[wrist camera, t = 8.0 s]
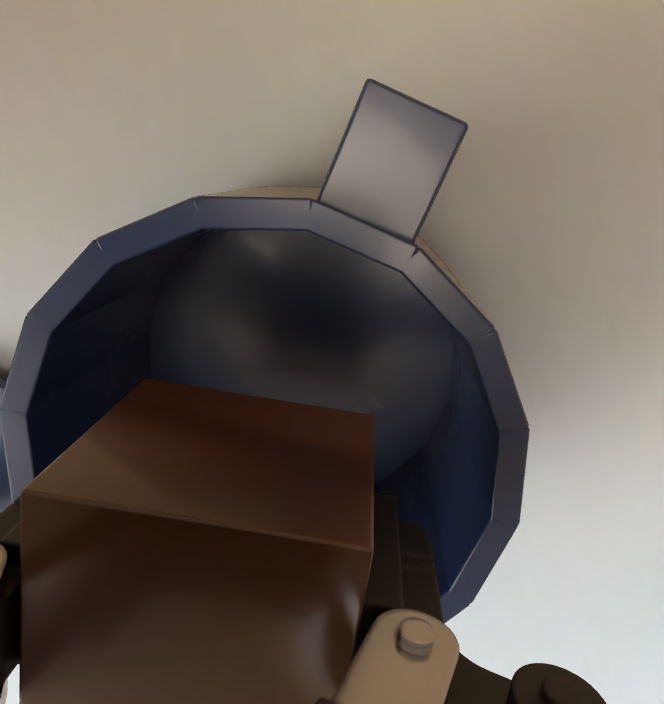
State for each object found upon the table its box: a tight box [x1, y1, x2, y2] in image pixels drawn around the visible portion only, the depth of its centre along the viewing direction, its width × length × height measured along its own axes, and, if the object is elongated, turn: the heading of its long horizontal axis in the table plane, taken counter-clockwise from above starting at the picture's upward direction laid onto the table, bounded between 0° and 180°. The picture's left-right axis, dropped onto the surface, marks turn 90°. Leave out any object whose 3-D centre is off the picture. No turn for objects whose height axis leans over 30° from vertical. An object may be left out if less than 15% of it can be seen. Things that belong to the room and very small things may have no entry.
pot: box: [0, 79, 530, 623], centre depth 19 cm, size 13×18×9 cm
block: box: [19, 379, 374, 704], centre depth 11 cm, size 5×5×5 cm
